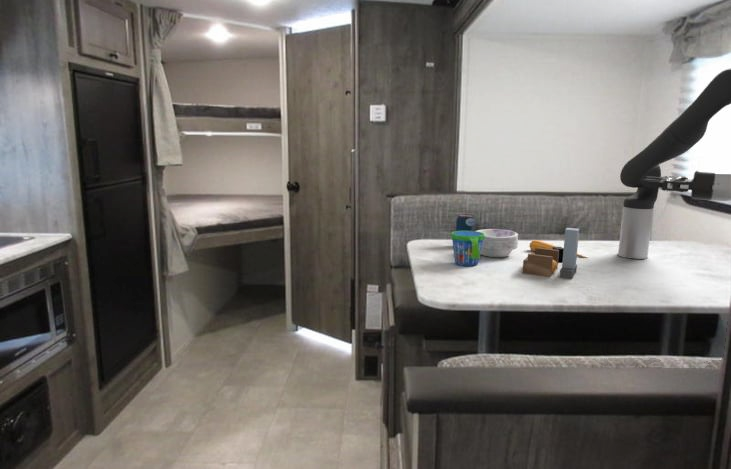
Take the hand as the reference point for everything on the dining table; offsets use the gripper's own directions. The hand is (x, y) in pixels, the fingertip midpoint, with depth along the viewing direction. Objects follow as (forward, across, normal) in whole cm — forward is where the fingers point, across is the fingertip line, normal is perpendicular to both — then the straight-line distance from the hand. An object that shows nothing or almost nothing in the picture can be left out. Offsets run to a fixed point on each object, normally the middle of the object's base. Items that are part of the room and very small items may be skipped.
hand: (644, 181), depth 141 cm
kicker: (+17, +2, +29) cm, 34 cm away
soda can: (+56, -18, +30) cm, 66 cm away
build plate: (+23, -16, +30) cm, 41 cm away
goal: (+24, +2, +29) cm, 38 cm away
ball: (+22, +2, +25) cm, 34 cm away
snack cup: (+47, +6, +30) cm, 56 cm away
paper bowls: (+44, -12, +30) cm, 54 cm away
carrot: (+25, -24, +30) cm, 46 cm away
